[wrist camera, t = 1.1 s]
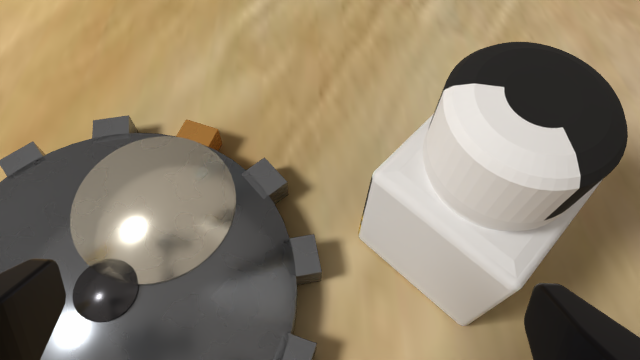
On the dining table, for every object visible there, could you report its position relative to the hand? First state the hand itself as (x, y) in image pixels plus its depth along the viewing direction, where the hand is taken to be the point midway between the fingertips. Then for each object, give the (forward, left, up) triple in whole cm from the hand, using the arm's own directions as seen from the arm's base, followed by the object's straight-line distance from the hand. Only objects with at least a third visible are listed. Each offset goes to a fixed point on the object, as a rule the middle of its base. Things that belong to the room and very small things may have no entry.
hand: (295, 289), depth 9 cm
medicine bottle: (+1, -10, -15) cm, 18 cm away
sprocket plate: (+9, +5, -15) cm, 18 cm away
